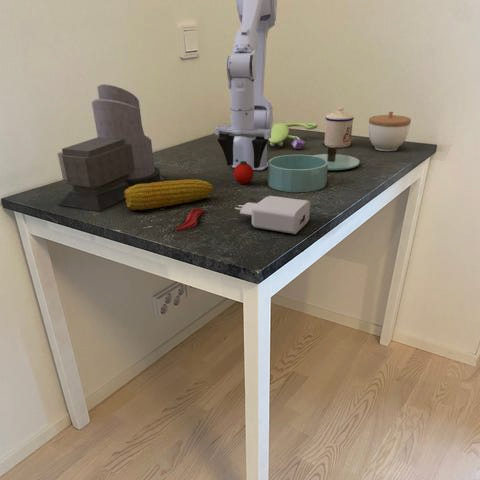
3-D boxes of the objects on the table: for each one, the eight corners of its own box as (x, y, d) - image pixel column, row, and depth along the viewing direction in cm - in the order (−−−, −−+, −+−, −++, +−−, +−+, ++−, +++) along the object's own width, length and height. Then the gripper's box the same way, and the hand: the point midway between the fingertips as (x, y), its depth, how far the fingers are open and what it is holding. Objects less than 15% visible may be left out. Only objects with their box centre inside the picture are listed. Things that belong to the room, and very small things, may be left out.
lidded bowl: (411, 146, 156) (417, 110, 150) (399, 155, 147) (405, 116, 142) (373, 142, 162) (377, 107, 156) (360, 150, 153) (364, 113, 147)
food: (131, 216, 107) (127, 190, 104) (124, 209, 111) (120, 183, 108) (216, 200, 115) (215, 175, 112) (207, 194, 119) (205, 169, 116)
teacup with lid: (347, 149, 155) (351, 110, 149) (320, 147, 158) (322, 109, 152) (355, 141, 165) (359, 104, 158) (329, 139, 168) (332, 103, 161)
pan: (258, 188, 122) (258, 166, 119) (280, 172, 134) (280, 152, 131) (315, 195, 117) (317, 172, 114) (333, 178, 128) (335, 157, 125)
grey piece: (126, 171, 138) (112, 77, 125) (174, 177, 132) (165, 78, 119) (53, 204, 115) (26, 92, 102) (107, 212, 109) (86, 95, 96)
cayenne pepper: (184, 231, 99) (183, 223, 98) (166, 227, 101) (165, 219, 100) (215, 213, 107) (215, 205, 106) (199, 210, 109) (198, 202, 108)
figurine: (319, 136, 172) (321, 119, 169) (300, 153, 151) (301, 135, 148) (271, 133, 178) (271, 117, 175) (245, 150, 157) (245, 132, 154)
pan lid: (295, 168, 137) (296, 150, 134) (313, 155, 149) (314, 138, 146) (351, 174, 131) (353, 155, 128) (365, 160, 143) (367, 142, 140)
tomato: (230, 184, 125) (229, 163, 122) (239, 179, 129) (238, 158, 126) (248, 187, 123) (248, 165, 120) (256, 181, 127) (256, 160, 124)
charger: (246, 211, 108) (309, 220, 102) (227, 225, 101) (293, 236, 95) (246, 190, 106) (310, 199, 100) (226, 203, 99) (294, 213, 93)
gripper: (208, 110, 116) (211, 167, 123) (263, 113, 111) (263, 172, 118) (221, 106, 122) (223, 160, 129) (274, 108, 116) (273, 165, 123)
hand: (243, 166), depth 124 cm, fingers open, 7 cm apart
